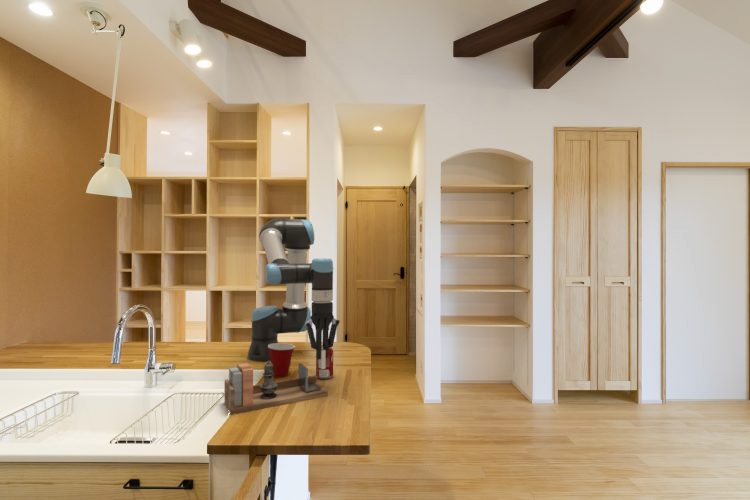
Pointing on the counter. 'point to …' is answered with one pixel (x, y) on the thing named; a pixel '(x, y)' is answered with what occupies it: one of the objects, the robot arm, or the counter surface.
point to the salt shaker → (268, 382)
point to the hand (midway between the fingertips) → (322, 367)
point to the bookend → (305, 380)
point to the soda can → (328, 369)
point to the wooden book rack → (247, 396)
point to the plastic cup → (281, 358)
